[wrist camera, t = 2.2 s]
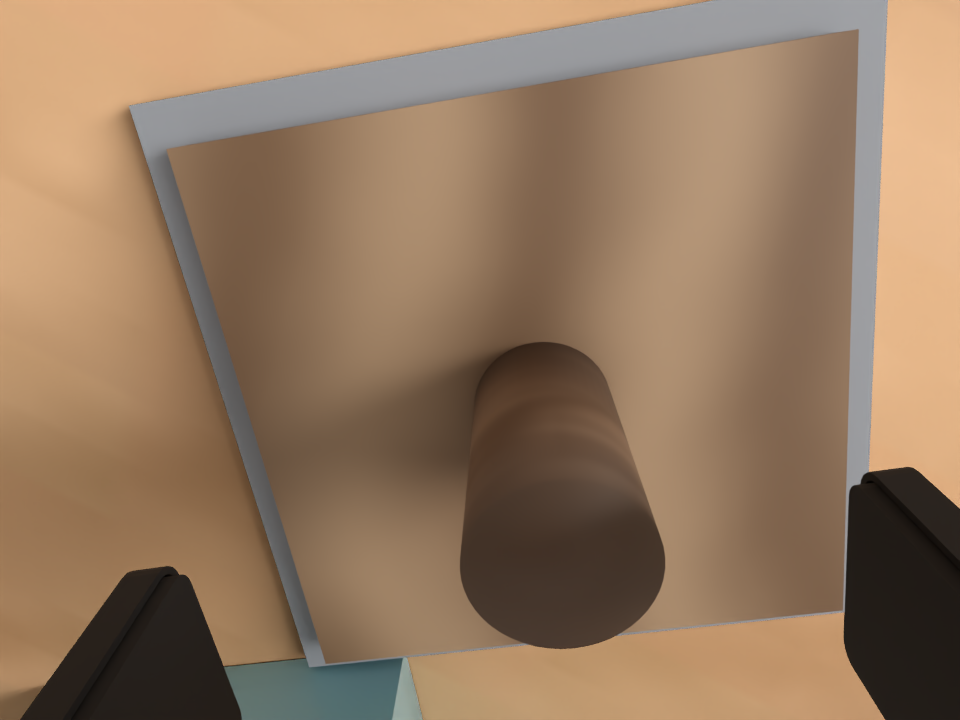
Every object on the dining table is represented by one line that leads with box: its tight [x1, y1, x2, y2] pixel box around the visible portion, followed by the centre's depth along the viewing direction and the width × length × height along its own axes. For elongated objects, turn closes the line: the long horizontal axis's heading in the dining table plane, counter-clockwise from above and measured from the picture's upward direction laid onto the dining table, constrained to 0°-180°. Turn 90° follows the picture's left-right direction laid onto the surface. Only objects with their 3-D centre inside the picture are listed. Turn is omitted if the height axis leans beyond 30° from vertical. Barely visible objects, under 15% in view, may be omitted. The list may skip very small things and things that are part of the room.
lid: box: [166, 29, 859, 664], centre depth 14 cm, size 14×14×7 cm
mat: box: [129, 0, 888, 667], centre depth 18 cm, size 16×16×1 cm
